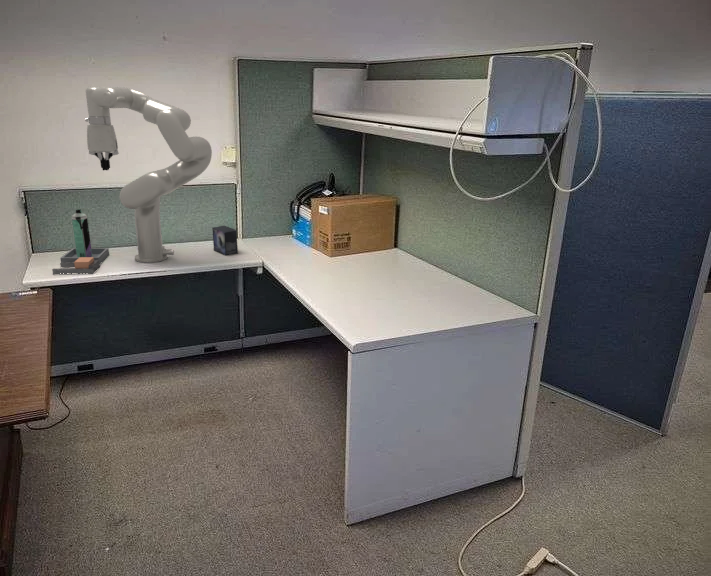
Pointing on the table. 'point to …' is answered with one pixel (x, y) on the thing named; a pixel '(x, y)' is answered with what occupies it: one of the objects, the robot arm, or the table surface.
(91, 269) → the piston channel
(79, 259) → the block
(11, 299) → the table surface
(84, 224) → the spray can
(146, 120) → the robot arm
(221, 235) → the small box
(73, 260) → the tray
